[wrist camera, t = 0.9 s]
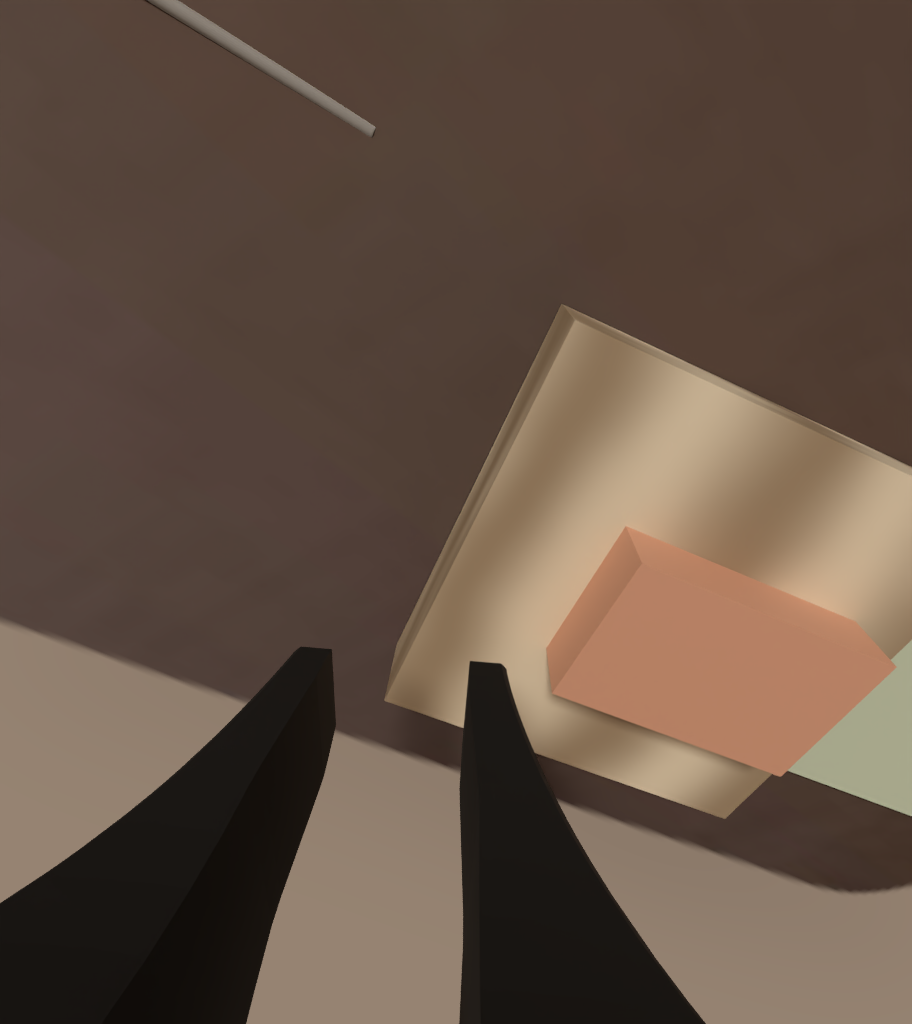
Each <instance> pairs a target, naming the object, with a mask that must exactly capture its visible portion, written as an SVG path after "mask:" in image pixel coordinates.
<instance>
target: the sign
mask: <svg viewBox="0 0 912 1024" xmlns="http://www.w3.org/2000/svg"><path fill="white" fill-rule="evenodd" d="M147 1H149V2H150V3H152V4H153V5H155V6H157V7H158V8H160V9H161V10H163V11H165V12H166V13H168V14H170V15H171V16H173V17H174V18H176V19H178V20H179V21H181V22H183V23H184V24H186V25H187V26H189V27H191V28H192V29H194V30H196V31H197V32H199V33H200V34H202V35H204V36H205V37H207V38H209V39H210V40H212V41H214V42H215V43H217V44H218V45H220V46H222V47H223V48H225V49H227V50H228V51H230V52H231V53H233V54H235V55H236V56H238V57H240V58H241V59H243V60H245V61H246V62H248V63H249V64H251V65H253V66H254V67H256V68H258V69H259V70H261V71H262V72H264V73H266V74H267V75H269V76H271V77H272V78H274V79H276V80H277V81H279V82H280V83H282V84H284V85H285V86H287V87H289V88H290V89H292V90H294V91H295V92H297V93H299V94H300V95H302V96H304V97H305V98H307V99H309V100H310V101H312V102H313V103H315V104H317V105H318V106H320V107H322V108H323V109H325V110H327V111H328V112H330V113H332V114H333V115H335V116H337V117H338V118H340V119H342V120H343V121H345V122H347V123H348V124H350V125H351V126H353V127H355V128H356V129H358V130H360V131H361V132H363V133H365V134H366V135H368V136H370V137H372V136H373V133H374V131H375V128H376V127H374V126H373V125H371V124H370V123H368V122H367V121H365V120H364V119H362V118H361V117H359V116H358V115H356V114H354V113H353V112H351V111H350V110H348V109H347V108H345V107H344V106H342V105H341V104H339V103H337V102H336V101H334V100H333V99H331V98H330V97H328V96H327V95H325V94H323V93H322V92H320V91H319V90H317V89H316V88H314V87H313V86H311V85H310V84H308V83H306V82H305V81H303V80H302V79H300V78H299V77H297V76H296V75H294V74H293V73H291V72H289V71H288V70H286V69H285V68H283V67H282V66H280V65H278V64H277V63H275V62H274V61H272V60H271V59H269V58H267V57H266V56H264V55H263V54H261V53H260V52H258V51H257V50H255V49H253V48H252V47H250V46H249V45H247V44H246V43H244V42H242V41H241V40H239V39H238V38H236V37H235V36H233V35H231V34H230V33H228V32H227V31H225V30H224V29H222V28H220V27H219V26H217V25H216V24H214V23H213V22H211V21H209V20H208V19H206V18H205V17H203V16H202V15H200V14H199V13H197V12H195V11H194V10H192V9H191V8H189V7H188V6H186V5H184V4H183V3H181V2H180V1H178V0H147Z"/></svg>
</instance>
